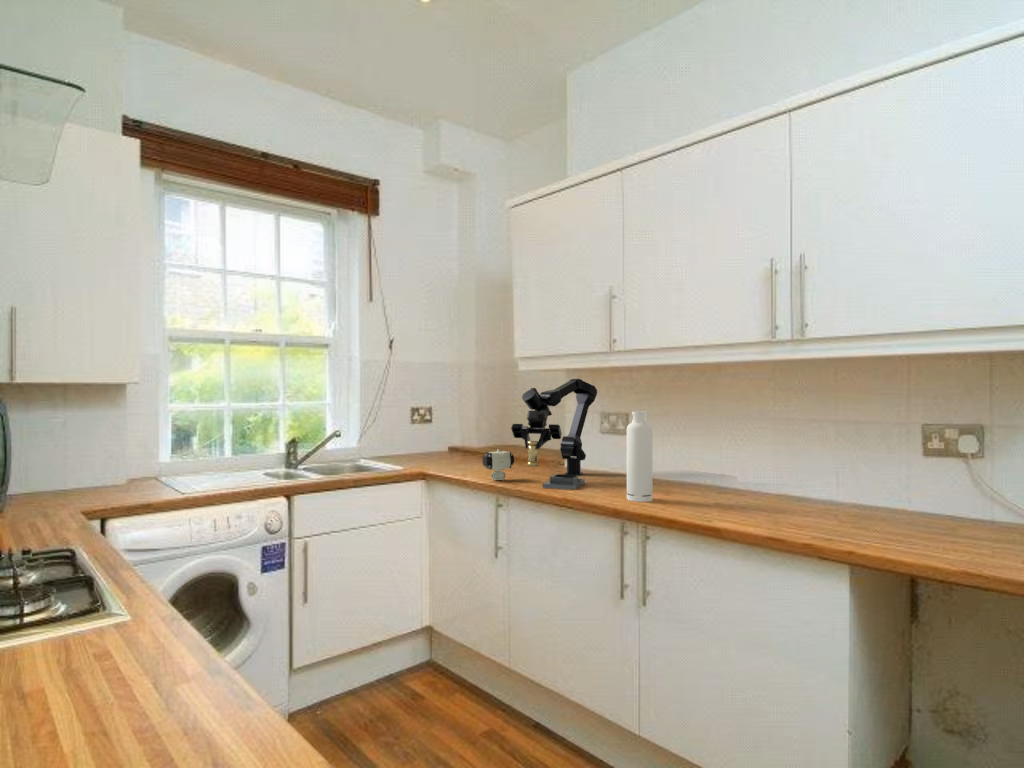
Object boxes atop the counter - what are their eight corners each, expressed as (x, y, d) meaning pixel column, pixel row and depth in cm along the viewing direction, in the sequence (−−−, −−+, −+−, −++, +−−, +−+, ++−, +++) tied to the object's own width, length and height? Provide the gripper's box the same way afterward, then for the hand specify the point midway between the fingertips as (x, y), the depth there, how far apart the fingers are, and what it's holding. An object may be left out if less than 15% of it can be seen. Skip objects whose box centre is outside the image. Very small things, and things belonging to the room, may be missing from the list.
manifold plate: (553, 481, 219) (553, 472, 219) (584, 483, 215) (584, 473, 215) (542, 488, 204) (542, 478, 204) (575, 489, 200) (575, 479, 200)
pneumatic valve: (482, 480, 222) (482, 449, 222) (509, 478, 227) (509, 448, 227) (487, 482, 217) (487, 450, 217) (515, 480, 222) (515, 449, 222)
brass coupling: (529, 464, 216) (529, 440, 216) (540, 465, 215) (540, 441, 215) (526, 466, 212) (526, 441, 212) (536, 466, 211) (536, 442, 211)
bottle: (628, 496, 188) (628, 411, 188) (653, 498, 185) (653, 411, 186) (624, 500, 180) (624, 412, 180) (651, 502, 177) (651, 412, 178)
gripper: (512, 402, 221) (503, 433, 210) (559, 403, 215) (552, 434, 204) (518, 422, 228) (510, 452, 217) (564, 423, 222) (557, 454, 211)
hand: (532, 448), depth 212 cm, fingers closed on brass coupling, 4 cm apart
